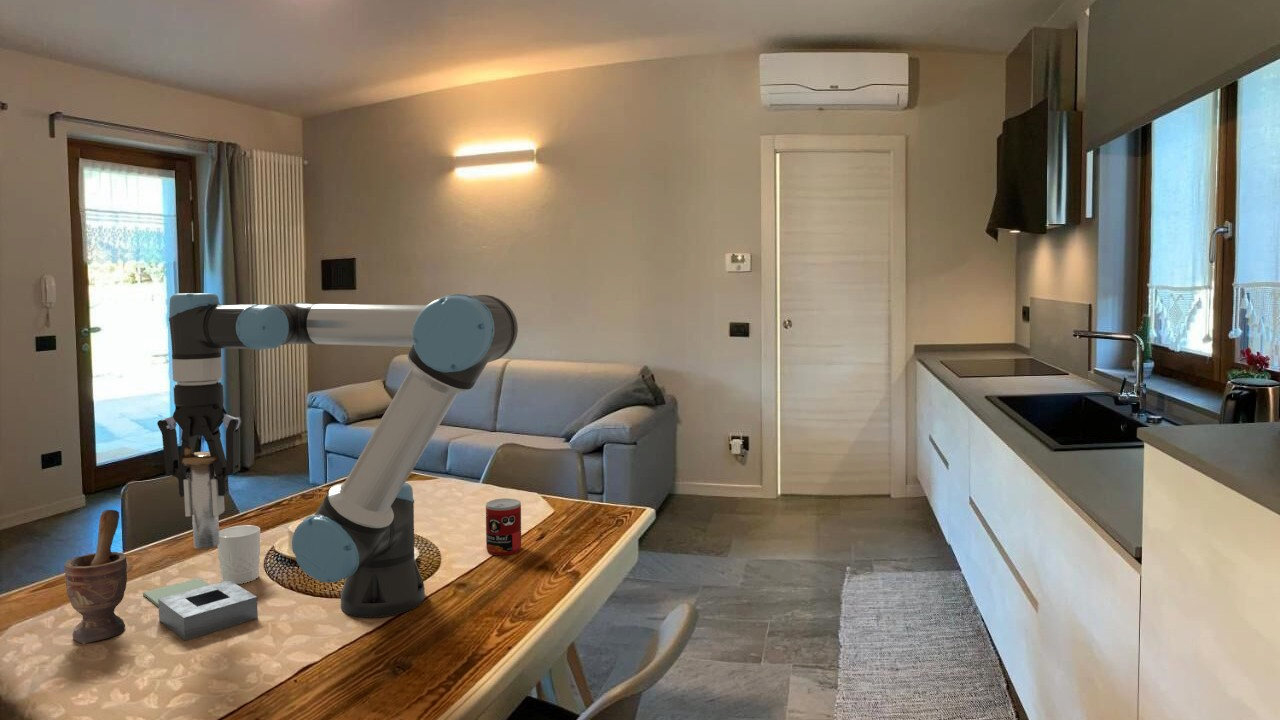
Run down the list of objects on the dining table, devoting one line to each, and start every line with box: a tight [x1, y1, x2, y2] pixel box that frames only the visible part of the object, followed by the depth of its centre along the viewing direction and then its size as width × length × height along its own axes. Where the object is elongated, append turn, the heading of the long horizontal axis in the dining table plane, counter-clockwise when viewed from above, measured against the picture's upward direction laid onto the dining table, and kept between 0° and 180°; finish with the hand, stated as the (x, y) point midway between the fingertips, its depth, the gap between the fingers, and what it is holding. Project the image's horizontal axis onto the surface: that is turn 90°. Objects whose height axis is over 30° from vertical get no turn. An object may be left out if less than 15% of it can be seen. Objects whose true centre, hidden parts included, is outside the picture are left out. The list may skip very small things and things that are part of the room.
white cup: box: [217, 524, 261, 585], centre depth 159 cm, size 8×8×10 cm
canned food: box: [485, 498, 522, 556], centre depth 177 cm, size 8×8×11 cm
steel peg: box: [181, 447, 222, 550], centre depth 138 cm, size 6×6×18 cm
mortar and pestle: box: [64, 509, 128, 645], centre depth 134 cm, size 12×9×20 cm
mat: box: [142, 577, 210, 608], centre depth 151 cm, size 10×10×1 cm
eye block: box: [158, 580, 259, 642], centre depth 139 cm, size 12×12×4 cm
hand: (205, 513), depth 138 cm, fingers closed on steel peg, 4 cm apart
